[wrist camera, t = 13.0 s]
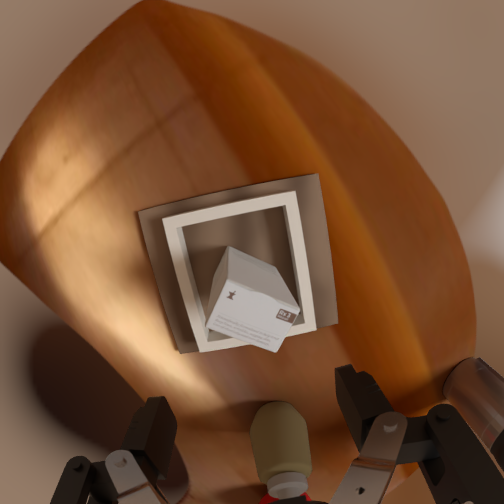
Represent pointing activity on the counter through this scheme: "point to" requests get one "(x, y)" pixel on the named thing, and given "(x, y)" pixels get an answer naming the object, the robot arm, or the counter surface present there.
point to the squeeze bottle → (281, 449)
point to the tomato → (269, 499)
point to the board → (242, 248)
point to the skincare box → (250, 301)
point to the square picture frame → (186, 277)
